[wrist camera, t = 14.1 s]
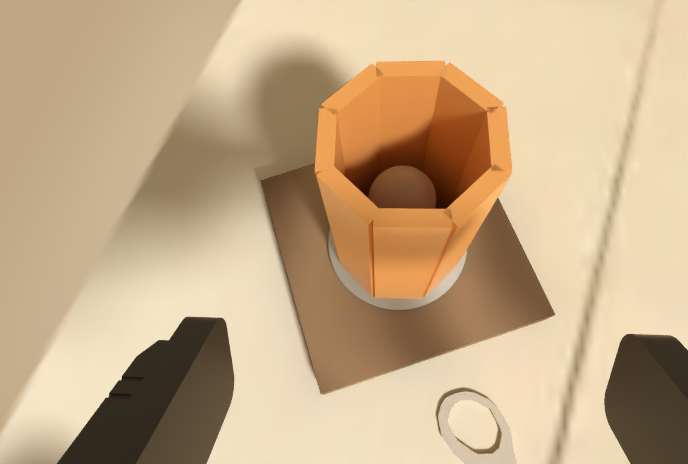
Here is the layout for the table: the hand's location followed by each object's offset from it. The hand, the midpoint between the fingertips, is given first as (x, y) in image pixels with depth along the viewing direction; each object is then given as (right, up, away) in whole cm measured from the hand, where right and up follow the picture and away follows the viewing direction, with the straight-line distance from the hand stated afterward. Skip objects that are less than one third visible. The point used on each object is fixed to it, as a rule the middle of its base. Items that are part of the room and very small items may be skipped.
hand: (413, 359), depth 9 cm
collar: (+1, +2, +14) cm, 14 cm away
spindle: (+1, +2, +16) cm, 16 cm away
